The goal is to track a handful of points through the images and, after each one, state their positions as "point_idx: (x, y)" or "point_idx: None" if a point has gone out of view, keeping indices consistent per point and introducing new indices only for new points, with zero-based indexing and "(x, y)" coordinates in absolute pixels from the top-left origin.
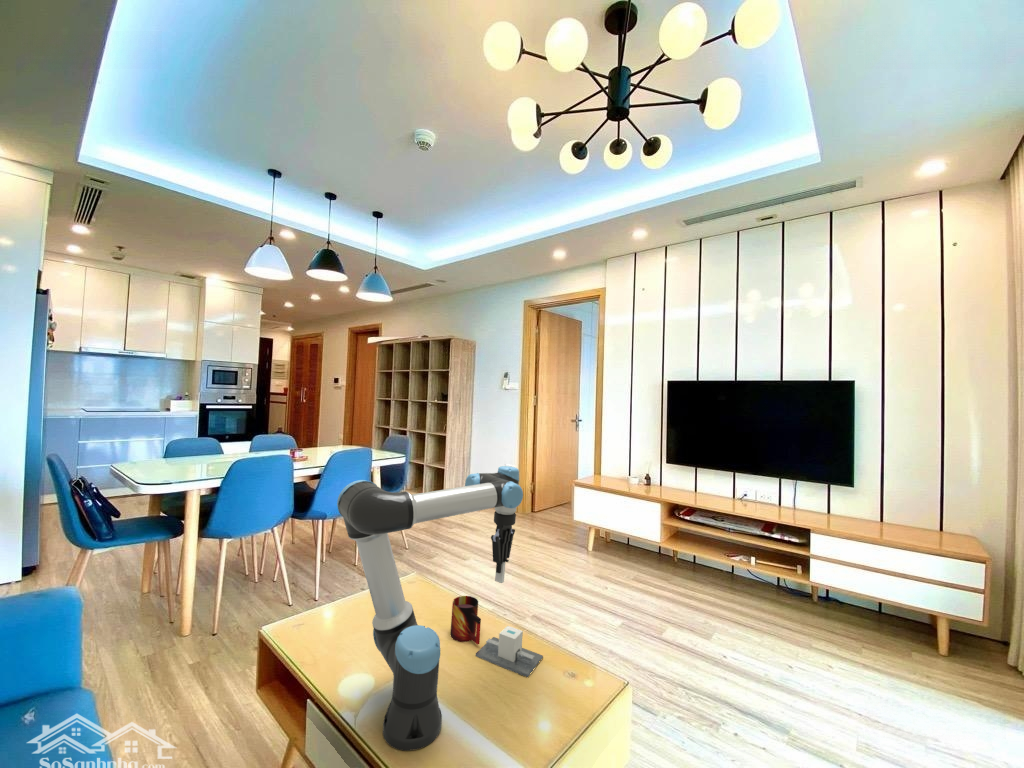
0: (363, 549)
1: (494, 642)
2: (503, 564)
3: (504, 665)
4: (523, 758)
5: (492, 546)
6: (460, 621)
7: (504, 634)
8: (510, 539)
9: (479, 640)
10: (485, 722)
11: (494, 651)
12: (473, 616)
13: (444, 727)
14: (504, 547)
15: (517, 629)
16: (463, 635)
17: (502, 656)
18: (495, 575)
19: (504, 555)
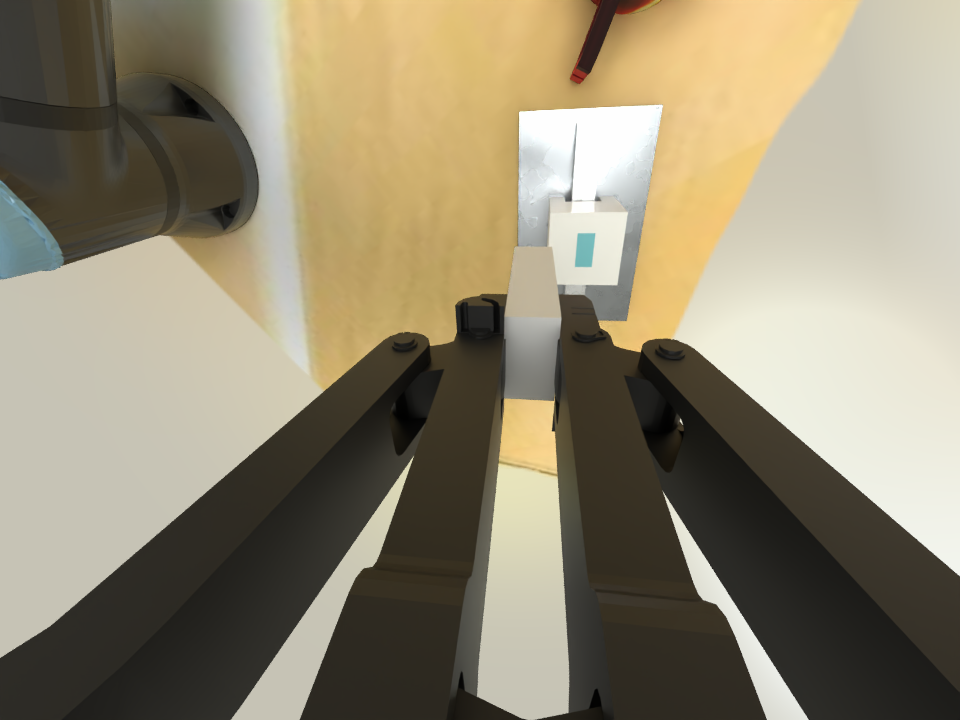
0: None
1: (586, 160)
2: (508, 392)
3: (518, 241)
4: (323, 388)
5: (192, 508)
6: None
7: (554, 235)
8: (820, 711)
9: (580, 82)
10: (330, 297)
11: (566, 171)
12: (602, 3)
13: (252, 229)
14: (565, 529)
15: (618, 262)
16: None
17: (548, 217)
18: (512, 262)
19: (557, 437)
